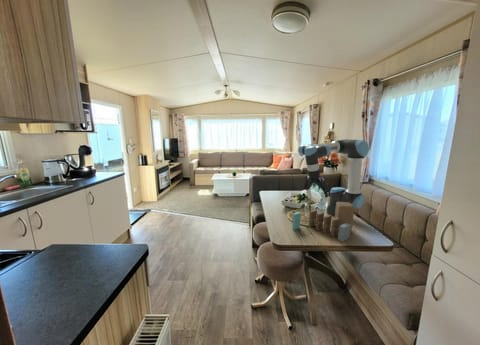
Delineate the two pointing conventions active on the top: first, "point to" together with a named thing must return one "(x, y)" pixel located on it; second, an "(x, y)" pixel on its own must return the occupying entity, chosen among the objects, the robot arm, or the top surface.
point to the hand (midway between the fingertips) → (317, 199)
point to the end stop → (344, 232)
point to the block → (344, 213)
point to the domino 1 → (296, 220)
